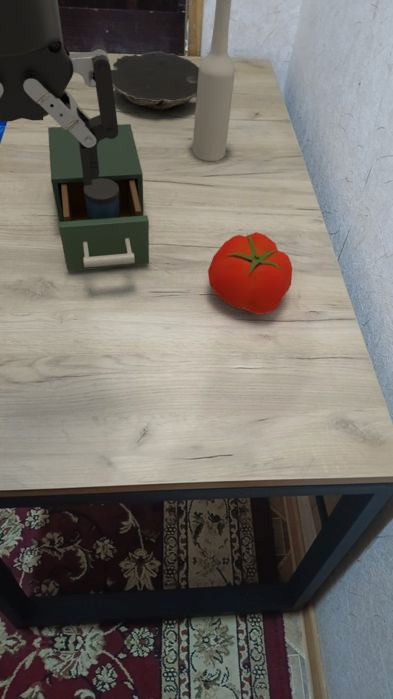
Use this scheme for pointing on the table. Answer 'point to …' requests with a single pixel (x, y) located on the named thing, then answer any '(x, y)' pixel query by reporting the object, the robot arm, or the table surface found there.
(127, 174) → the cabinet
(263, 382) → the table surface
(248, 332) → the table surface
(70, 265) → the drawer
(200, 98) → the bottle
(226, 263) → the tomato
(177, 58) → the rough clay dish
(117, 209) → the plastic container
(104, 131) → the robot arm
